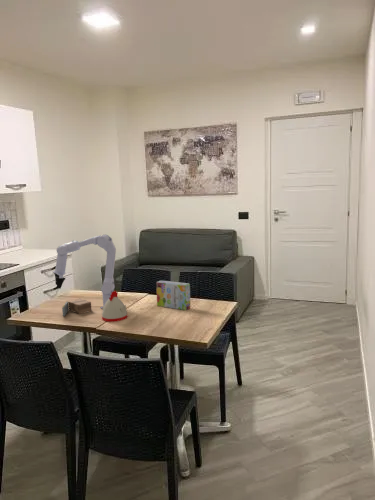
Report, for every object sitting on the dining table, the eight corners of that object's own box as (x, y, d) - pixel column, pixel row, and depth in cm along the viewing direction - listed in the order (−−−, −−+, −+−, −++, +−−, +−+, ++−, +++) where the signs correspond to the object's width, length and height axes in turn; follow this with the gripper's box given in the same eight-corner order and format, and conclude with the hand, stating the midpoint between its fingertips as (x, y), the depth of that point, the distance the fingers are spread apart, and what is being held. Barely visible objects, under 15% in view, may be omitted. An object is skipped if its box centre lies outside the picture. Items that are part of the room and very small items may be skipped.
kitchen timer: (131, 314, 230) (130, 289, 228) (119, 322, 217) (117, 295, 215) (110, 313, 235) (108, 287, 232) (97, 320, 222) (95, 294, 220)
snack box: (191, 308, 238) (190, 283, 236) (186, 310, 234) (185, 285, 231) (161, 303, 249) (160, 279, 247) (156, 306, 245) (155, 281, 242)
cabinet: (91, 310, 240) (90, 301, 240) (79, 313, 235) (78, 305, 234) (80, 306, 249) (80, 298, 248) (69, 310, 243) (68, 301, 242)
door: (67, 309, 243) (66, 300, 242) (69, 309, 243) (68, 300, 242) (62, 316, 231) (61, 306, 230) (64, 316, 231) (64, 306, 230)
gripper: (53, 261, 246) (50, 282, 249) (55, 267, 233) (52, 289, 236) (64, 262, 249) (62, 283, 252) (67, 268, 236) (64, 290, 239)
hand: (58, 286), depth 244 cm, fingers open, 7 cm apart
